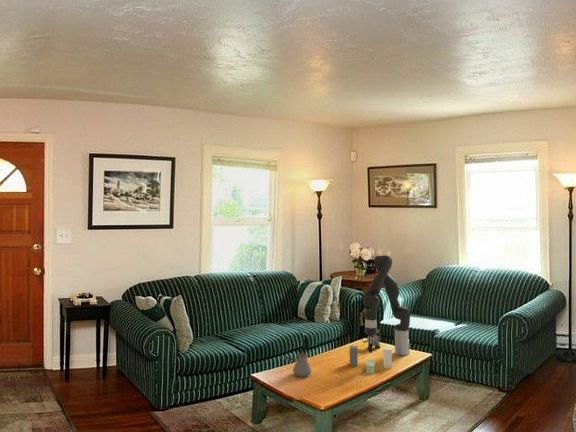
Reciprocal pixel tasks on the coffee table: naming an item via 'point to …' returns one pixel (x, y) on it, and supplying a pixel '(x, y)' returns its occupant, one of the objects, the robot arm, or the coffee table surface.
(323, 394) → the coffee table surface
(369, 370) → the sage green pillar
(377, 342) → the figurine
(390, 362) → the off white pillar
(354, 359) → the slate grey pillar
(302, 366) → the coffee pot
